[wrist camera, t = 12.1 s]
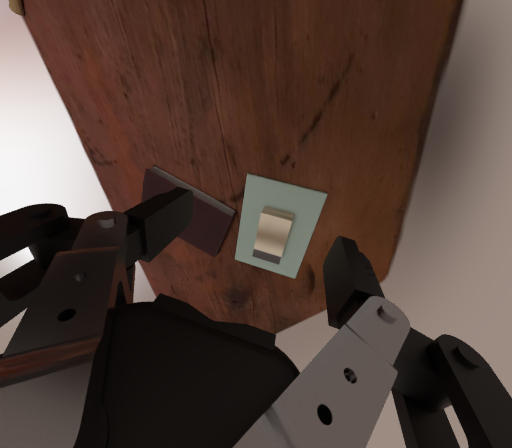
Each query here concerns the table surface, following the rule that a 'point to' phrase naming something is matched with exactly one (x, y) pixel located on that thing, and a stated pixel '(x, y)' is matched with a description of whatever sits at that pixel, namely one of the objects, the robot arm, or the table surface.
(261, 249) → the cream rectangular block
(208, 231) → the book
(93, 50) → the table surface
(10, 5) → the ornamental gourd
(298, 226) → the rubber mat
